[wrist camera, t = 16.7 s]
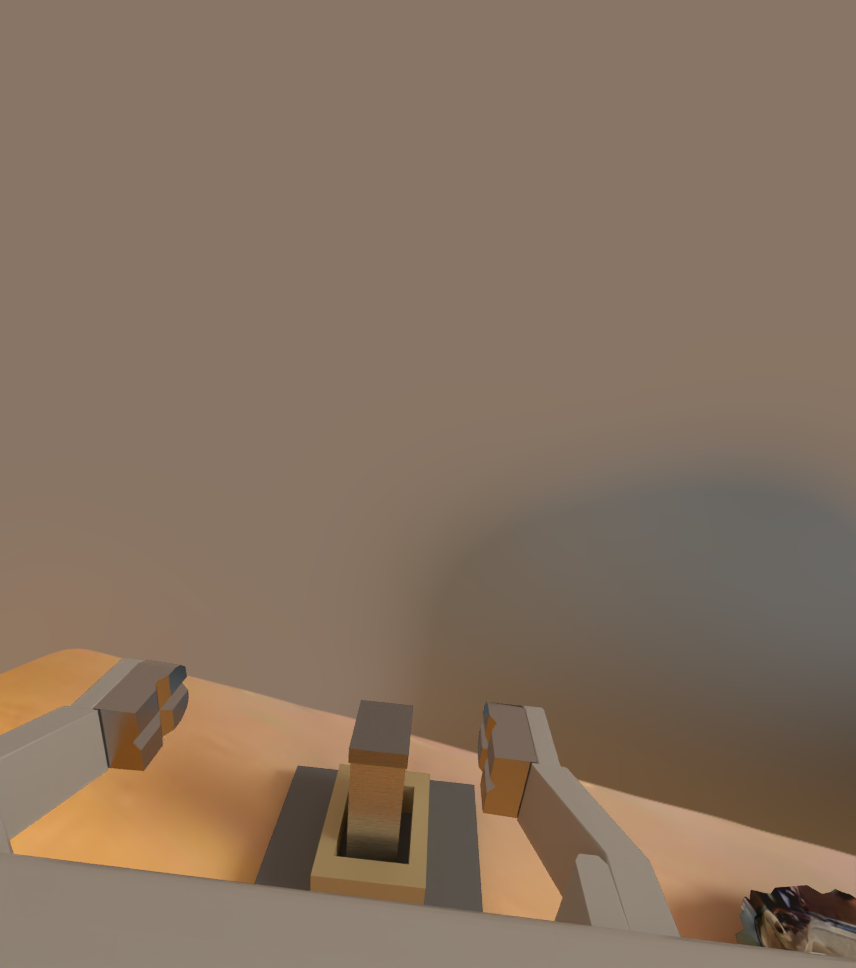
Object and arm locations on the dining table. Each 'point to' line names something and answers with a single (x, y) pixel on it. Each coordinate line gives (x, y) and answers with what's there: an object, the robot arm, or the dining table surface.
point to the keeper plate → (412, 879)
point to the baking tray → (800, 921)
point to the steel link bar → (377, 779)
